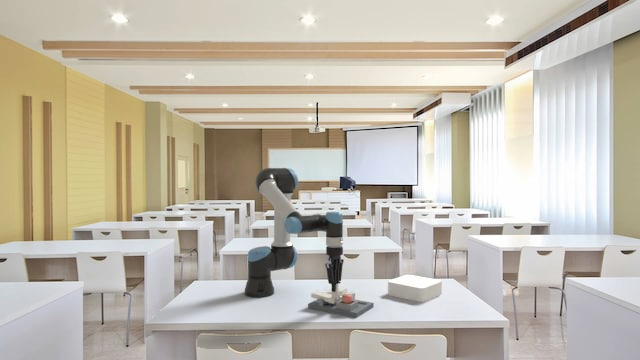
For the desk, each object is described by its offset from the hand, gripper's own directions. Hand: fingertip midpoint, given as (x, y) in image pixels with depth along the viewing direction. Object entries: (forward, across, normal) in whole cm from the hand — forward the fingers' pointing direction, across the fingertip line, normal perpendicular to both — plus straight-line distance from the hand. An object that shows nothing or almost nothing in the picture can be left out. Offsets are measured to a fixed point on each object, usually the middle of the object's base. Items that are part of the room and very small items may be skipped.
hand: (335, 298), depth 192 cm
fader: (+3, +9, -4) cm, 10 cm away
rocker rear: (0, +8, +5) cm, 10 cm away
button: (+2, 0, -6) cm, 6 cm away
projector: (+6, +43, -22) cm, 49 cm away
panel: (+5, +4, -1) cm, 7 cm away
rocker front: (+1, 0, +5) cm, 6 cm away
